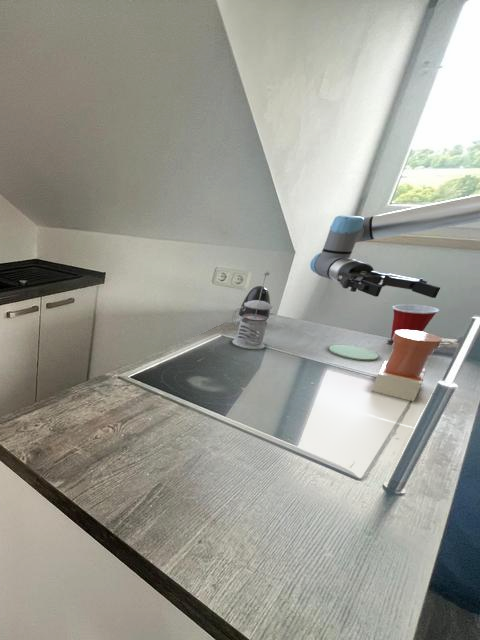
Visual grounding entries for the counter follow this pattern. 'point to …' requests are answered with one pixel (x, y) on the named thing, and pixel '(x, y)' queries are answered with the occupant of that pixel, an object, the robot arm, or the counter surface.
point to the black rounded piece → (255, 295)
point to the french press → (252, 324)
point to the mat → (353, 352)
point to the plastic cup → (412, 317)
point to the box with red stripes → (397, 384)
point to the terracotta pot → (411, 352)
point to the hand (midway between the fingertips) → (407, 292)
